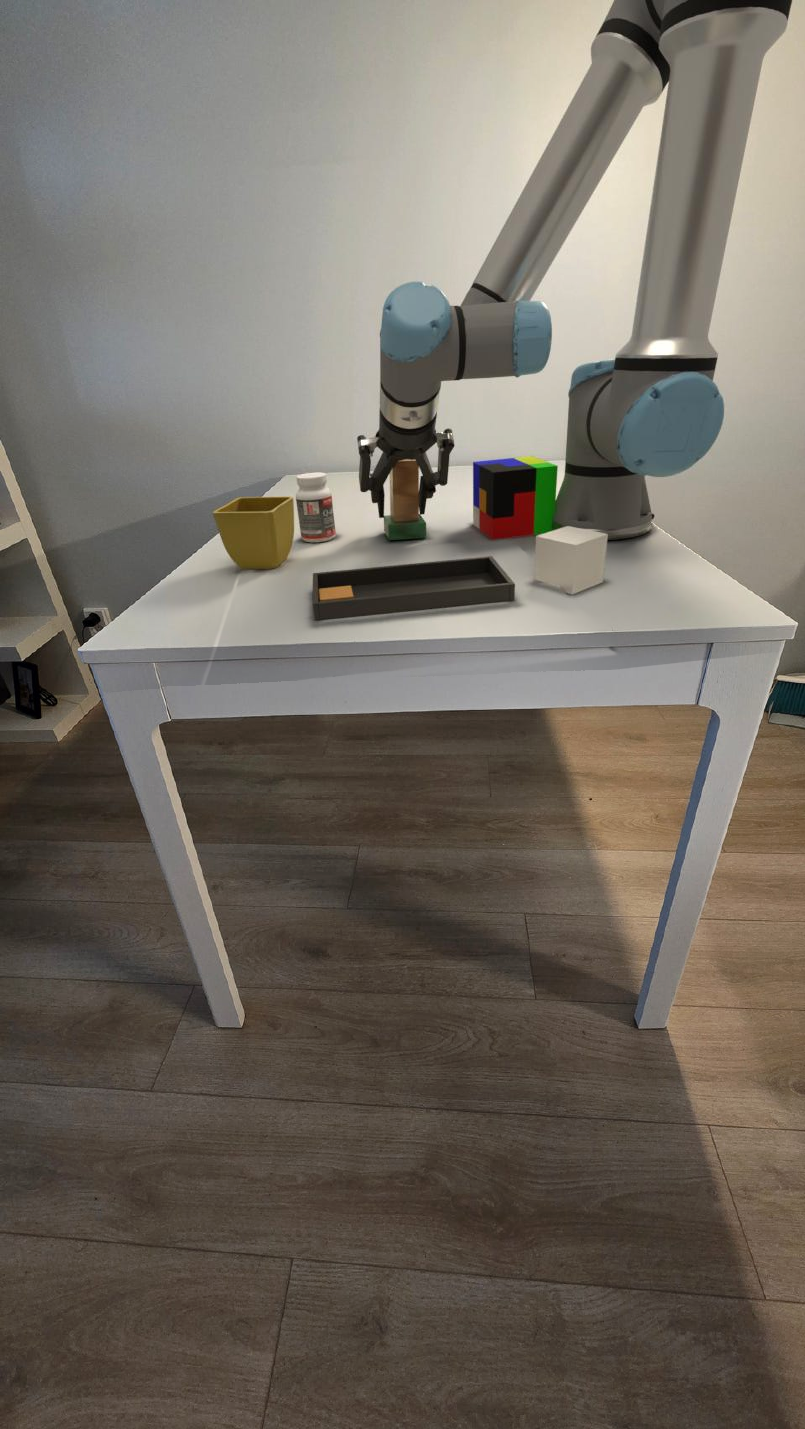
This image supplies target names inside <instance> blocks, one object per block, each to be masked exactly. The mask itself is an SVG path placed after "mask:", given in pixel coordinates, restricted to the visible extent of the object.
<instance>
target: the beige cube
mask: <svg viewBox="0 0 805 1429" xmlns="http://www.w3.org/2000/svg"><path fill="white" fill-rule="evenodd" d="M607 538H608V534H605V533H600V532H595V531H590V530H586V529H581V528H576V527H571V526H566V527H563V528H560V529H557V530H554V531H551V532H547V533H544V534H537V535H535V550H534V551H535V552H534V569H533V570H534V571H533V572H534V573H533V580H534V581H539V582H541V583H545V584H548V585H552V586H555V587H559V589H561V590H562V591H563V592H564V593H565V594H569V595H571V596H572V595H575V594H577V593H580V592H583V591H585V590H587V589H590V588H592V587H594V586H597V585H599V584H602V583H604V578H605V568H606V567H605V566H606V557H607V548H608V547H607V546H608V540H607Z"/></svg>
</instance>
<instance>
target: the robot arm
mask: <svg viewBox="0 0 805 1429" xmlns="http://www.w3.org/2000/svg"><path fill="white" fill-rule="evenodd" d="M792 4H793V0H613V2H612V3H611V6H610V8H609V10H608V12H607V14H606V15H605V18H604V20H603V22H602V24H601V26H600V28H599V29H598V32H597V34H596V36H595V37H594V39H593V41H592V43H591V46H590V60H591V64H590V66H589V68H588V69H587V71H586V73H585V74H584V77H583V78H582V81H581V82H580V84H579V86H578V88H577V90H576V92H575V93H574V95H573V97H572V99H571V101H570V103H569V104H568V106H567V108H566V110H565V112H564V114H563V115H562V118H561V119H560V121H559V123H558V124H557V127H556V129H555V130H554V132H553V134H552V136H551V137H550V140H549V141H548V143H547V145H546V146H545V149H544V151H543V153H542V155H541V156H540V158H539V159H538V161H537V164H536V165H535V167H534V169H533V171H532V172H531V175H530V176H529V178H528V180H527V182H526V184H525V186H524V187H523V189H522V191H521V193H520V195H519V197H518V199H517V201H516V202H515V204H514V206H513V208H512V209H511V212H510V213H509V215H508V217H507V218H506V221H505V222H504V224H503V226H502V228H501V230H500V232H499V234H498V235H497V238H496V239H495V241H494V243H493V244H492V247H491V249H490V250H489V252H488V254H487V255H486V258H485V259H484V261H483V263H482V265H481V267H480V268H479V270H478V272H477V274H476V276H475V277H474V280H473V282H472V284H471V286H470V288H469V289H468V291H467V293H466V294H465V296H464V298H463V300H462V302H461V304H460V305H451V304H450V301H449V299H448V297H447V296H446V294H445V293H444V292H443V291H442V290H441V289H440V288H438V287H437V286H436V285H433V284H432V285H427V284H425V283H424V282H423V281H409V282H405V283H403V284H401V285H398V286H396V287H395V288H394V289H393V290H392V291H391V292H389V294H388V295H387V297H386V299H385V301H384V303H383V307H382V314H381V324H380V331H379V370H380V371H379V378H380V379H379V410H378V411H379V414H378V416H379V417H378V418H379V421H378V430H377V431H376V433H375V436H373V437H368V438H367V437H366V436H365V435H364V434H360V435H358V436H357V437H356V439H357V448H358V449H357V450H358V455H359V467H358V483H359V490H360V491H359V492H361V493H367V492H369V491H370V498H371V503H372V504H377V512H378V518H379V519H384V516H385V497H386V496H385V487H384V486H385V483H386V481H387V479H388V477H389V476H390V474H389V473H390V472H391V470H392V468H395V466H396V464H397V462H398V461H401V460H405V459H408V460H415V459H416V462H417V464H418V466H419V471H420V472H421V475H420V478H419V514H420V515H421V516H422V515H425V512H426V507H427V500H429V499H432V498H433V497H434V494H435V493H436V492H437V488H436V487H437V486H438V485H439V486H441V487H444V486H446V485H448V479H449V468H450V455H451V453H452V451H453V449H454V448H455V439H454V433H453V429H452V428H446V429H444V430H443V432H439V431H437V430H436V424H437V417H438V409H439V408H438V407H439V401H440V392H441V386H442V382H451V381H453V382H454V381H462V380H475V379H476V380H477V379H493V378H494V379H495V378H507V377H508V378H509V377H515V378H520V377H522V376H527V375H535V374H536V375H537V374H538V373H541V372H542V371H544V370H543V369H545V367H546V365H547V363H548V361H549V358H550V354H551V350H552V342H553V325H552V316H551V313H550V310H549V308H548V306H547V305H546V304H545V302H543V301H540V300H532V298H533V296H534V295H535V294H536V291H537V289H539V286H540V284H541V283H542V281H543V279H544V278H545V277H546V275H547V272H548V271H549V269H550V267H551V265H552V264H553V262H554V261H555V259H556V257H557V255H558V254H559V252H560V250H561V249H562V247H563V245H564V244H565V242H566V240H567V238H568V237H569V235H570V233H571V231H572V230H573V228H574V226H575V225H576V223H577V221H578V220H579V218H580V216H581V215H582V213H583V211H584V210H585V207H586V206H587V205H588V203H589V201H590V199H591V198H592V195H593V194H594V192H595V190H596V189H597V187H598V185H599V184H600V182H601V181H602V179H603V177H604V175H605V174H606V171H607V170H608V168H609V167H610V166H611V163H612V161H613V159H614V158H615V156H616V154H617V153H618V151H619V149H620V148H621V146H622V144H623V142H624V141H625V139H626V137H627V136H628V134H629V133H630V131H631V129H632V128H633V126H634V124H635V122H636V120H637V119H638V116H639V115H640V114H641V112H642V110H643V108H645V107H647V106H650V105H653V104H654V103H656V102H657V101H658V100H659V99H660V97H661V96H662V93H663V91H664V90H665V89H666V86H667V90H666V98H665V104H664V111H663V119H662V125H661V131H660V132H661V133H660V138H659V145H658V152H657V158H656V159H657V160H656V165H655V166H656V167H655V172H654V173H655V174H654V178H653V179H654V180H653V186H652V194H651V200H650V206H649V214H648V220H647V226H646V234H645V242H644V248H643V253H642V254H643V255H642V262H641V267H640V268H641V269H640V275H639V281H638V288H637V296H636V302H635V309H634V316H633V324H632V329H631V336H630V338H629V340H628V342H626V343H625V344H624V345H623V346H622V347H621V348H620V349H619V350H618V351H617V352H616V353H615V358H610V359H605V360H598V361H592V362H586V363H583V364H580V365H579V366H576V368H575V369H574V370H573V371H572V374H571V377H570V378H571V379H570V385H569V386H570V387H569V389H568V393H567V394H568V395H567V396H568V411H567V426H566V427H567V429H566V442H565V444H566V445H565V446H566V447H565V461H564V462H565V463H564V464H565V465H564V475H563V479H562V483H561V485H560V487H559V491H558V493H557V494H556V502H555V514H554V517H553V521H552V531H554V530H557V529H560V528H563V527H566V526H571V527H576V528H581V529H586V530H590V531H595V532H600V533H605V534H608V538H607V541H613V540H624V539H632V538H635V537H639V536H642V535H644V534H647V533H648V532H650V530H651V528H652V520H654V518H655V514H654V513H653V512H652V507H651V502H650V497H649V493H648V492H649V491H648V488H647V481H646V476H649V477H653V478H667V477H672V476H675V475H678V474H681V473H683V472H685V471H687V470H689V469H690V468H692V467H693V466H694V465H696V463H698V462H699V461H700V460H701V459H703V458H704V457H705V456H706V455H707V453H709V451H710V450H711V448H712V447H713V446H714V444H715V443H716V440H717V439H718V436H719V434H720V432H721V429H722V426H723V422H724V418H725V402H724V397H723V394H722V393H720V390H719V387H718V385H717V383H715V382H714V376H715V372H716V368H717V362H718V359H719V358H718V357H719V353H718V352H717V350H716V348H715V347H714V346H713V344H712V343H711V341H710V339H709V332H710V327H711V322H712V318H713V313H714V307H715V302H716V298H717V292H718V287H719V282H720V278H721V271H722V266H723V262H724V258H725V253H726V245H727V242H728V238H729V232H730V226H731V222H732V216H733V212H734V207H735V203H736V202H735V201H736V197H737V192H738V187H739V181H740V176H741V171H742V167H743V161H744V156H745V153H746V152H745V151H746V147H747V141H748V137H749V131H750V127H751V122H752V117H753V111H754V107H755V102H756V97H757V91H758V86H759V81H760V77H761V72H762V66H763V61H764V59H765V56H766V54H767V53H768V52H769V50H770V49H772V47H773V46H774V45H775V44H776V43H777V41H779V39H780V38H781V37H782V36H783V35H784V34H785V33H786V30H787V28H788V23H789V18H790V12H791V7H792ZM435 444H436V445H437V446H436V447H437V448H438V451H437V452H438V454H437V471H435V472H434V471H433V468H432V464H431V463H430V460H429V457H428V455H427V452H428V451H429V450H430V449H431V448H432V447H433V446H434V445H435ZM376 448H377V449H379V450H380V451H382V453H381V455H380V457H379V459H378V462H377V463H376V465H375V467H374V469H373V472H372V473H371V465H372V457H373V456H374V452H375V450H376Z"/></svg>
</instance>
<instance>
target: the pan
mask: <svg viewBox="0 0 805 1429" xmlns="http://www.w3.org/2000/svg"><path fill="white" fill-rule="evenodd" d="M341 586H351V588H352V592H353V596H354V598H351V599H341V600H331V601H321V602H320V598H319V589H322V588H332V587H341ZM515 594H516V583H515V582H514V581H513V580H512V578H511V577H510V576H509V574H507V573H506V571H505V570H504V569H503V568H502V567H501V565H500V564H499V562H498V561H497V560H496V559H495V558H494V557H493V556H492V555H488V556H479V557H467V558H458V559H447V560H435V561H426V562H415V563H406V564H405V563H403V564H395V565H384V566H373V567H363V568H362V567H361V568H353V569H343V570H334V571H321V572H313V573H312V608H313V609H312V610H313V618H314V621H315V622H319V621H320V622H321V621H329V620H337V619H339V620H340V619H349V618H358V617H359V618H360V617H370V616H378V615H388V614H397V613H408V612H417V611H418V612H419V611H429V610H436V609H447V608H456V607H467V606H478V605H488V604H497V603H507V602H515V599H516V598H515V596H516V595H515Z"/></svg>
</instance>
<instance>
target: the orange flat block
mask: <svg viewBox="0 0 805 1429" xmlns="http://www.w3.org/2000/svg"><path fill="white" fill-rule="evenodd" d="M319 598H320V602H321V601H331V600H341V599H351V598H354V596H353V592H352V588H351V586H341V587H332V588H322V589H319Z"/></svg>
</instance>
